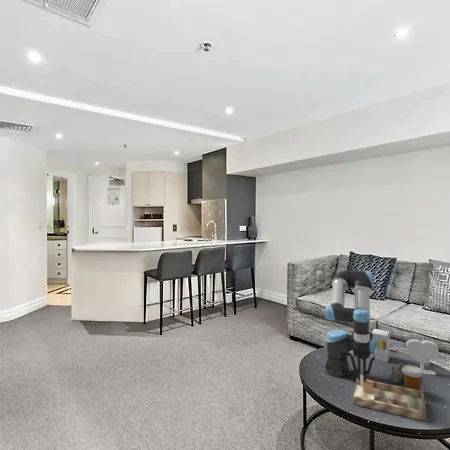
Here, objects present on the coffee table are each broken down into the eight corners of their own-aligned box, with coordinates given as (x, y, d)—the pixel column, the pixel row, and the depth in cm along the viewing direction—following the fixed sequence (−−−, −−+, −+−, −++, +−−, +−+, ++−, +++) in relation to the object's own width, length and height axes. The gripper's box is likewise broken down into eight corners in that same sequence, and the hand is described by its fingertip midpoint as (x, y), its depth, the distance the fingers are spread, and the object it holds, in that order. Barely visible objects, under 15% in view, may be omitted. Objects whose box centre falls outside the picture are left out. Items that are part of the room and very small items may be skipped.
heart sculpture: (407, 370, 186) (407, 340, 185) (406, 367, 190) (406, 337, 190) (438, 375, 179) (438, 344, 179) (437, 371, 184) (436, 340, 184)
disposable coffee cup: (423, 399, 157) (423, 375, 157) (401, 394, 162) (401, 370, 162) (423, 390, 165) (423, 367, 165) (402, 385, 170) (402, 363, 170)
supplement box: (371, 358, 202) (370, 332, 202) (373, 353, 210) (373, 328, 209) (387, 362, 197) (387, 335, 196) (390, 357, 204) (389, 331, 204)
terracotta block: (363, 391, 161) (363, 382, 161) (364, 387, 165) (363, 378, 165) (372, 393, 159) (372, 384, 159) (373, 389, 163) (373, 380, 163)
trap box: (353, 403, 155) (353, 392, 155) (356, 387, 169) (356, 377, 169) (425, 421, 141) (425, 409, 141) (423, 402, 155) (422, 391, 155)
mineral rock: (414, 377, 178) (414, 360, 178) (419, 387, 168) (419, 369, 168) (389, 374, 182) (388, 357, 182) (391, 384, 172) (391, 365, 172)
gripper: (346, 341, 163) (347, 386, 163) (375, 345, 156) (375, 392, 157) (349, 336, 169) (349, 379, 170) (376, 340, 163) (376, 385, 163)
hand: (362, 386), depth 163 cm, fingers closed
